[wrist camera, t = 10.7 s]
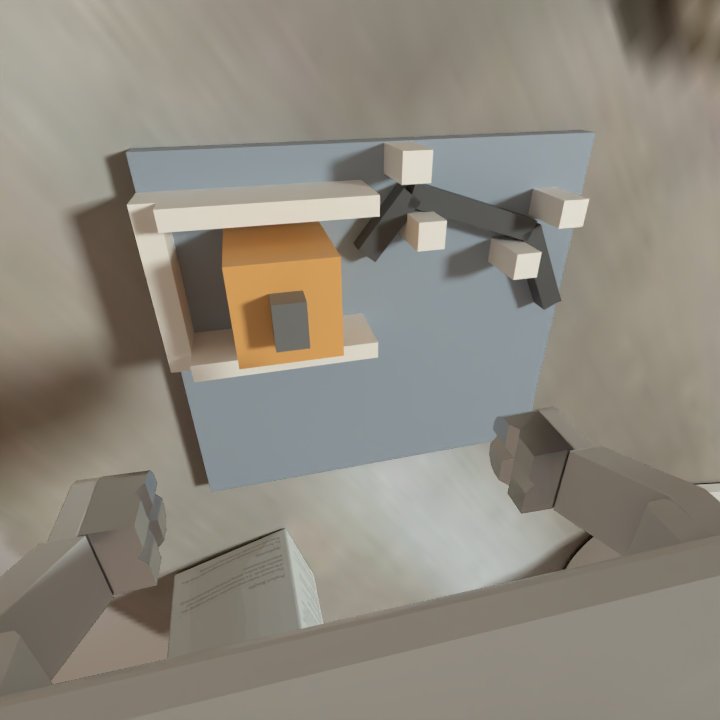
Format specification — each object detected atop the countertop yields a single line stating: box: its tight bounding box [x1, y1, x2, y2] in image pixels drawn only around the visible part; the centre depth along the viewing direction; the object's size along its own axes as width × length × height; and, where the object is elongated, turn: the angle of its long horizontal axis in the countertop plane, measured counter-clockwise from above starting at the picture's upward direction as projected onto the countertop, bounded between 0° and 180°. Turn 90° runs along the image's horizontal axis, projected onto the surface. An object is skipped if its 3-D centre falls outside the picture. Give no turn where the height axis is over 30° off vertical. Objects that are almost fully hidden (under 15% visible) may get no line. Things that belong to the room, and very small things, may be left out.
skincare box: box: [167, 529, 323, 659], centre depth 27 cm, size 8×6×15 cm
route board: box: [126, 130, 595, 492], centre depth 23 cm, size 20×18×4 cm
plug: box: [222, 221, 344, 369], centre depth 19 cm, size 4×4×6 cm
